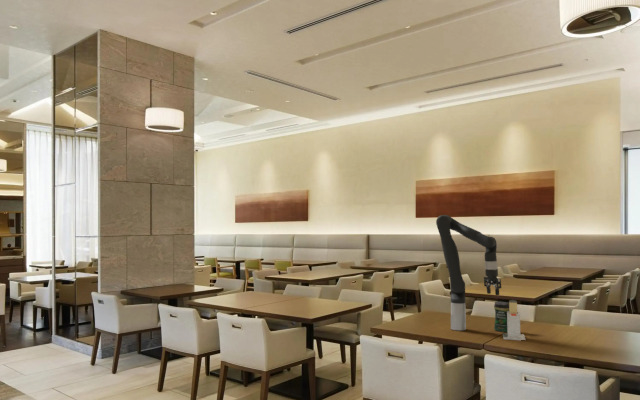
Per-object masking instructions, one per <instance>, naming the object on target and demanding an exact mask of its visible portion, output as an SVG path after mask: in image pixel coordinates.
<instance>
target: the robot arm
mask: <svg viewBox="0 0 640 400" xmlns="http://www.w3.org/2000/svg"><path fill="white" fill-rule="evenodd" d="M435 223H436V227H437V230H438V233H439V237H440V241H441V247H442V253H443V256H444V261H445V264H446V267H447V270H448V273H449V281H450V282H449V283H450V284H449V285H450V330H454V331H466V330H467V324H466V322H467V317H466V316H467V315H466V311H467V310H466V283H465V280H464V279H463V275H462V271H461V265H460V264H461V263H460V255H459V250H458V248H457V245H456V243H455V242H456V241H455V240H454V239H453V236H452V232H451V230H452V231H455V232H456V233H459V234H460V235H461V236H463V237H464V238H466V239H469V240H470V241H473V242H475V243H477V244H479V245H480V246H482V247H483V248H485V253H484V273H485V276H484V277H483V286H484V287H485V288H486V293H487V294H491V293H492V289H491V286H493V288H494V290H495V296H500V289H502V280H501V278H498V276H499V270H498V269H499V267H498V263H497V262H498V260H497V259H498V258H497V248H498V246H497V243H498V242H497V240H496V238H495V237H493V236H488V235H485V234H483V233H482V232H480V231H479V230H477V229H474V228H472V227H470V226H468V225H465V224H462V223H461V222H459V220H456V219H455V218H453V217H451V216H450V215H447V214H442V215H439V216H438V217H437V218H436V221H435Z"/></svg>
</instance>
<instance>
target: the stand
mask: <svg viewBox="0 0 640 400" xmlns="http://www.w3.org/2000/svg"><path fill="white" fill-rule="evenodd" d="M502 337H503V340H510V341H521V340H525V341H526V336H525V334H523V333H522V334H521V313H520V311H517V313H510V312H509V311H507V332H502Z"/></svg>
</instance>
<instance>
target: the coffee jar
mask: <svg viewBox="0 0 640 400" xmlns="http://www.w3.org/2000/svg"><path fill="white" fill-rule="evenodd" d="M493 306H494V307H493V308H494V309H493V310H494V313H495V314H494V315H495V317H494V327H493V328H494V331H496V332H501V333H507V311H509V302H508V301H507V302H506V301H495V302H494V305H493Z"/></svg>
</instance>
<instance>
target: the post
mask: <svg viewBox="0 0 640 400" xmlns="http://www.w3.org/2000/svg"><path fill="white" fill-rule="evenodd" d="M508 303H509V312H510V313H517V312H518V301H517V300H513V299H512V300H511V299H510V300H509V302H508Z"/></svg>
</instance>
